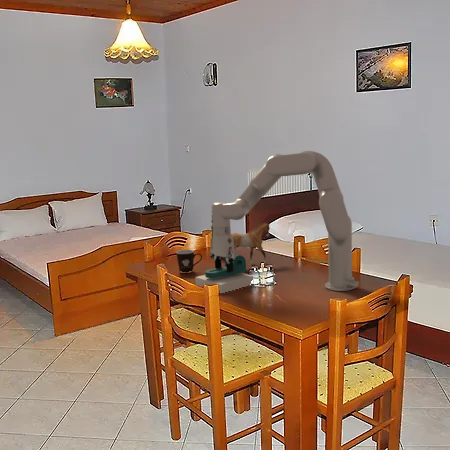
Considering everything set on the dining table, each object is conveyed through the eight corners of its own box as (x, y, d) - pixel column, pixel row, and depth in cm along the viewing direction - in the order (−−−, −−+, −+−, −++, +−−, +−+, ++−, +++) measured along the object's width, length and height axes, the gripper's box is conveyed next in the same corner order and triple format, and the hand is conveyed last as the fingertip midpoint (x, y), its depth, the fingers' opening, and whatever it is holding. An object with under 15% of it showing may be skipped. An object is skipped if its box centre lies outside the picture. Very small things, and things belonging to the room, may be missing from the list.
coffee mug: (174, 273, 269) (173, 253, 267) (182, 269, 277) (180, 249, 275) (196, 274, 265) (195, 254, 263) (203, 270, 273) (202, 250, 271)
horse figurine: (270, 261, 283) (269, 221, 280) (275, 264, 276) (274, 223, 272) (211, 268, 275) (208, 227, 272) (215, 272, 268) (212, 230, 264)
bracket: (238, 268, 251) (237, 251, 250) (246, 271, 245) (245, 254, 244) (202, 275, 243) (201, 258, 241) (209, 279, 237) (208, 260, 235)
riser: (253, 284, 243) (253, 276, 243) (221, 294, 232) (220, 284, 232) (227, 277, 257) (227, 269, 257) (195, 285, 246) (195, 277, 246)
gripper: (241, 231, 236) (243, 271, 239) (216, 227, 250) (218, 265, 253) (227, 234, 231) (230, 275, 235) (202, 229, 245) (205, 268, 248)
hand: (224, 270), depth 244 cm, fingers closed on bracket, 7 cm apart
